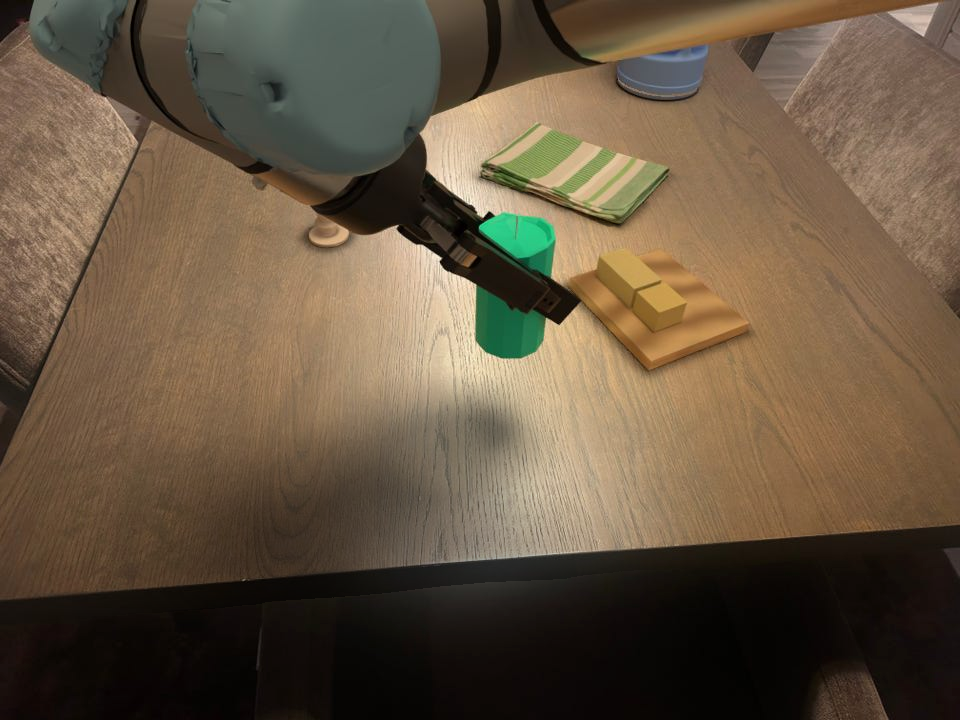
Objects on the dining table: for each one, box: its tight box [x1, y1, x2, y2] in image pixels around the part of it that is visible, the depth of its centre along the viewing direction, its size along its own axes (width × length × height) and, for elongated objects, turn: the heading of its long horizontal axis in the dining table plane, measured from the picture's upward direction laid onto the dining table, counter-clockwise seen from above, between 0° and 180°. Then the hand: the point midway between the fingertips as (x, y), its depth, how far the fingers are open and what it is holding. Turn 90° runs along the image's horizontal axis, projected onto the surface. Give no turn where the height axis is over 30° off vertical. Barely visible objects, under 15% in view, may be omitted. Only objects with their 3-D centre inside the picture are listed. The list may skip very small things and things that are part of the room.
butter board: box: [568, 248, 750, 371], centre depth 80 cm, size 16×14×2 cm
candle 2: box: [308, 205, 350, 249], centre depth 86 cm, size 5×5×10 cm
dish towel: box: [479, 121, 671, 224], centre depth 101 cm, size 18×23×3 cm
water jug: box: [615, 44, 709, 101], centre depth 116 cm, size 16×16×28 cm
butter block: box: [595, 247, 662, 309], centre depth 80 cm, size 7×4×3 cm, turn 27°
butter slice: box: [632, 282, 687, 332], centre depth 76 cm, size 4×4×3 cm
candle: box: [474, 211, 557, 360], centre depth 54 cm, size 6×6×12 cm
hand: (549, 291), depth 57 cm, fingers closed on candle, 5 cm apart
